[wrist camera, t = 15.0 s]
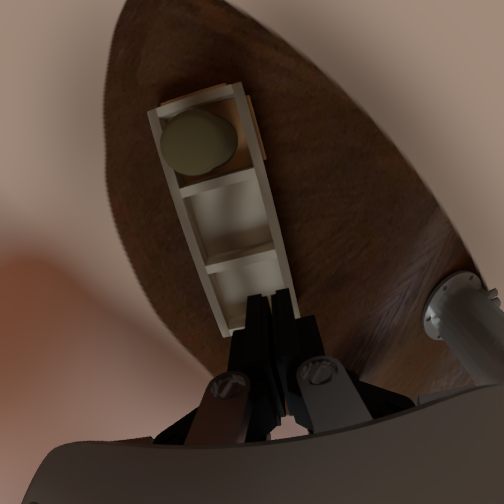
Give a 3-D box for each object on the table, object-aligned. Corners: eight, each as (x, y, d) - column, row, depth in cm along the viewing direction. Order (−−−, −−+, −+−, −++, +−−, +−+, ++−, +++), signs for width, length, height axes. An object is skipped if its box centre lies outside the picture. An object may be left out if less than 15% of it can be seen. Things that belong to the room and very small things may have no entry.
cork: (171, 143, 29) (133, 146, 19) (210, 103, 28) (189, 85, 18) (210, 180, 31) (190, 200, 21) (250, 141, 30) (249, 141, 19)
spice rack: (244, 83, 28) (244, 77, 25) (299, 304, 38) (304, 320, 34) (156, 111, 29) (146, 108, 25) (225, 321, 39) (223, 337, 35)
